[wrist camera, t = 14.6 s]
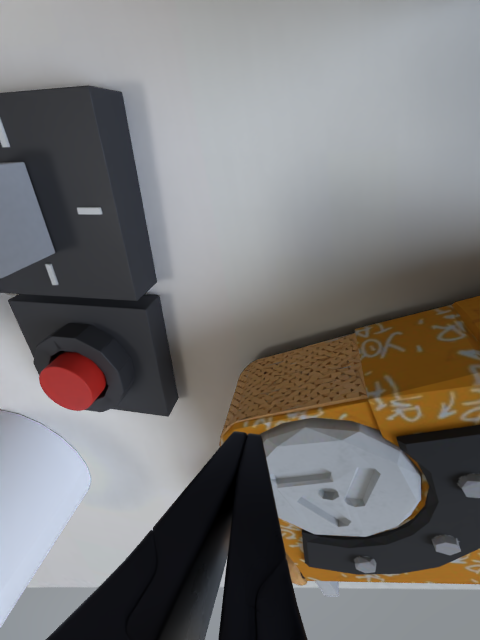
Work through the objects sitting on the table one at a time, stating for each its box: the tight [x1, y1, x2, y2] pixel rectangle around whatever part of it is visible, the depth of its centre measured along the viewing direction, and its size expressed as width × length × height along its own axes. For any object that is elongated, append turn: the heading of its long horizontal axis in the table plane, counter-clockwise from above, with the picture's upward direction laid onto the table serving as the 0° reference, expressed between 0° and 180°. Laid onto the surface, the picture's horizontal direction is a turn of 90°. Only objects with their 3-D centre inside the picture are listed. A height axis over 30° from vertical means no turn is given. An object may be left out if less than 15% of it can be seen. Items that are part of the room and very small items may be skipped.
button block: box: [8, 294, 178, 416], centre depth 25 cm, size 10×11×4 cm
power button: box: [39, 352, 106, 411], centre depth 23 cm, size 4×4×2 cm
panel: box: [0, 86, 157, 301], centre depth 20 cm, size 11×11×3 cm
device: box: [219, 296, 480, 596], centre depth 22 cm, size 23×8×30 cm
